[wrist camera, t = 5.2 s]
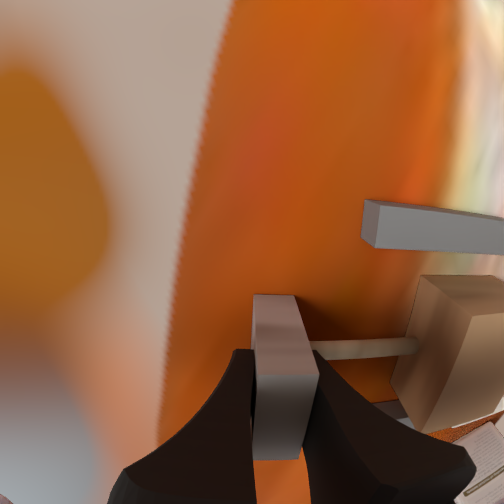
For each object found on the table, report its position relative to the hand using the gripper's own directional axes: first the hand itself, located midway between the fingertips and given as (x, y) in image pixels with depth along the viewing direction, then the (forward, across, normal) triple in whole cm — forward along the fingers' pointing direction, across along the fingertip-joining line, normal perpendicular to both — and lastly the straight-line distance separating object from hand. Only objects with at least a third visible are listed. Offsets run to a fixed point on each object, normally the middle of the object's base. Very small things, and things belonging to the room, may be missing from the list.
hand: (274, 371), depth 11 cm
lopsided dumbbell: (+2, -5, 0) cm, 6 cm away
